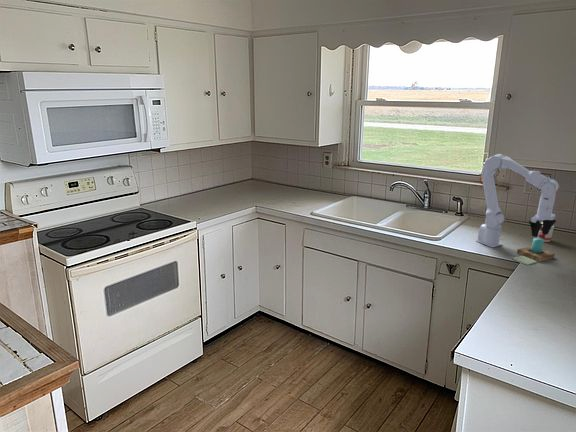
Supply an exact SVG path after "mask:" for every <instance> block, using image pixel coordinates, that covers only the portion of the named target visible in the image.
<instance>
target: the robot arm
mask: <svg viewBox="0 0 576 432" xmlns="http://www.w3.org/2000/svg"><path fill="white" fill-rule="evenodd" d="M499 169H502V170H503V169H509V170H512V171H513V172H515V173H517V174H519V175H520V176H523V177H525V180H526V182H527V183H529V184H531V185H532V186H534V187H536V188H537V189H540V191H541V192H540V193H541V194H540V197H539V202H538V206H537V210H536V211H537V212H536V214H535V215H534V216H532V217H531V218H530V220H529V221H528V223H529V225H530V230H531V236H532V237H533V238H537V237H538V233H539V230H540V228H541V227H542V225H543V229H542V233H543V234H546V235H547V234H548V233H549V231H550V229H551V227H552V226H553V225H555V224H556V222H557V220H556V214H555V213H553V211H554V209H553V208H554V205H555V200H556V196H557V195H556V194H557V191H558V189H559V188H560V185H559V182H557V180H556V179H554V178H553V179H552V178H551V177H549V176H548V177H547V176H545V175H543V174H542V173H541V171H540V170H529V169H528V168H526V167H525V166H523V165H521V164H520V163H518V162H517V161H515V160H514V159H512V158H511V157H509V156H507V155H505V154H503V153H497V154H495V155H492V156H489V157H488V158H487V159H486V160H485V161H484V165H483V167H482V170H481V180H482V187H483V191H484V199H485V204H486V211H485V219H484V223H483V224H481V225H480V227H479V229H478V235H477V239H476V241H475V242H478V243H480V244H483V245H485V246H487V247H489V248H496V247H500V246H503V243H502V242H500V238H501V233H502V228H503V227H502V224H503V223H504V221H505V215H504V213H503V212H502V209H501V208H500V206H499V201H498V194H497V189H496V182H495V177H494V176H495V174H496V173H497V171H498V170H499ZM542 221H543V224H541V223H542Z"/></svg>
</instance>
